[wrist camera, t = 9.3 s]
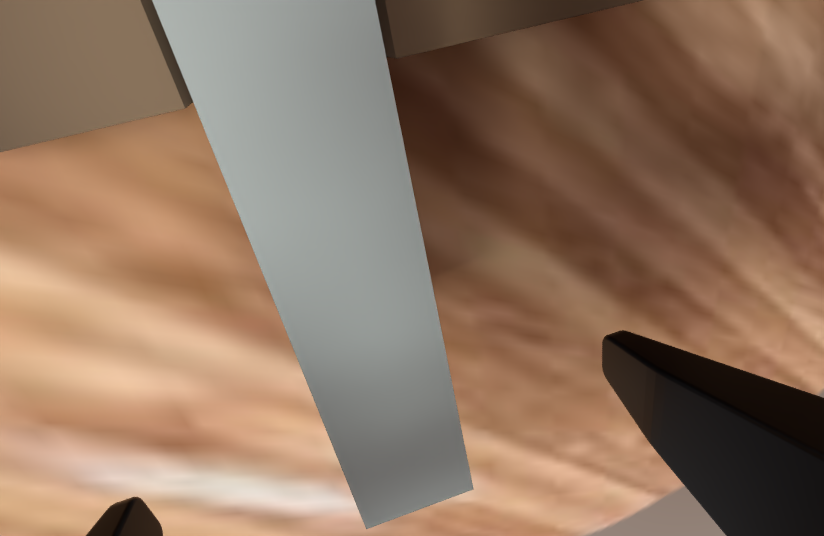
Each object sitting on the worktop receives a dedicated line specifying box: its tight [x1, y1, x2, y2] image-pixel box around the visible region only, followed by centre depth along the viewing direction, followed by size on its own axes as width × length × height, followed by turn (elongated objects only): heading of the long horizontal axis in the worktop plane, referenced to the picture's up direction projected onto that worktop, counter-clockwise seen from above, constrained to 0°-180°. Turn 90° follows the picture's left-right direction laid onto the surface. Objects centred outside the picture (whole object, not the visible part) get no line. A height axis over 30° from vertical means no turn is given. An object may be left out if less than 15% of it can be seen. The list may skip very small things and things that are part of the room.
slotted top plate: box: [152, 0, 473, 529], centre depth 9 cm, size 20×2×9 cm, turn 11°
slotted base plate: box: [0, 0, 642, 152], centre depth 11 cm, size 20×2×6 cm, turn 101°
